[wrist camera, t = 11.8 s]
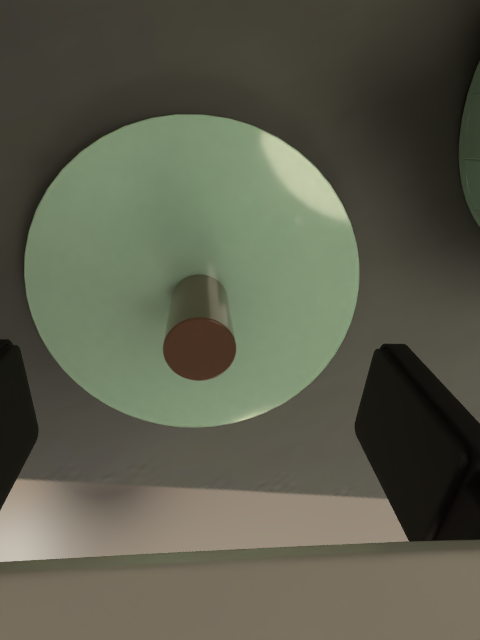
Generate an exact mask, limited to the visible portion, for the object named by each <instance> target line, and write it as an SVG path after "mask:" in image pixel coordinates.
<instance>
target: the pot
mask: <svg viewBox="0 0 480 640" xmlns="http://www.w3.org/2000/svg"><path fill="white" fill-rule="evenodd" d="M459 170H460V178H461V185H462V188H463V192H464V196H465V199H466V202H467V205H468V207H469V209H470V211H471V214H472V216H473V218H474V219H475V221H476V222H477V224H478V225H479V227H480V61H479V63H478V65H477V68H476V70H475V73H474V76H473V79H472V82H471V85H470V88H469V91H468V94H467V98H466V102H465V107H464V111H463V116H462V120H461V129H460V137H459Z"/></svg>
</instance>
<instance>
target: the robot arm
mask: <svg viewBox="0 0 480 640" xmlns="http://www.w3.org/2000/svg"><path fill="white" fill-rule="evenodd" d="M355 433H356V436H357V438H358V440H359V442H360V444H361V446H362V448H363V450H364V452H365V454H366V456H367V458H368V460H369V462H370V464H371V466H372V468H373V470H374V472H375V474H376V476H377V478H378V480H379V482H380V484H381V486H382V488H383V490H384V492H385V494H386V496H387V498H388V500H389V502H390V504H391V506H392V508H393V510H394V512H395V514H396V516H397V518H398V520H399V522H400V524H401V526H402V528H403V530H404V532H405V534H406V536H407V538H408V540H409V542H388V543H366V544H343V545H321V546H298V547H279V548H278V547H277V548H257V549H238V550H217V551H197V552H178V553H158V554H138V555H120V556H103V557H84V558H68V559H49V560H30V561H13V562H0V640H480V424H479V422H478V421H477V420H476V419H475V418H474V417H473V416H472V415H471V414H470V413H469V412H468V411H467V410H466V409H465V407H464V406H463V405H462V404H461V403H460V402H459V401H458V400H457V399H456V398H455V397H454V396H453V395H452V393H451V392H450V391H449V390H448V389H447V388H446V387H445V386H444V385H443V384H442V383H441V382H440V381H439V380H438V378H437V377H436V376H435V375H434V374H433V373H432V372H431V371H430V370H429V369H428V368H427V367H426V366H425V364H424V363H423V362H422V361H421V360H420V359H419V358H418V357H417V356H416V355H415V354H414V353H413V352H412V351H411V349H410V348H409V347H408V346H407V345H405V344H383V345H382V346H381V347H380V349H376V350H375V351H374V354H373V358H372V361H371V365H370V369H369V372H368V376H367V380H366V384H365V387H364V391H363V395H362V398H361V402H360V406H359V410H358V413H357V417H356V421H355ZM37 437H38V423H37V419H36V415H35V410H34V406H33V402H32V397H31V393H30V389H29V385H28V380H27V376H26V372H25V367H24V363H23V359H22V354H21V350H20V348H19V347H18V346H17V345H13V343H12V342H11V341H10V340H8V339H0V510H1V508H2V506H3V504H4V502H5V500H6V498H7V496H8V494H9V492H10V490H11V489H12V487H13V485H14V483H15V481H16V479H17V477H18V475H19V473H20V471H21V469H22V467H23V466H24V464H25V462H26V460H27V458H28V456H29V454H30V452H31V450H32V448H33V446H34V444H35V443H36V440H37Z"/></svg>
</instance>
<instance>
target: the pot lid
mask: <svg viewBox="0 0 480 640" xmlns="http://www.w3.org/2000/svg"><path fill="white" fill-rule="evenodd" d="M24 279H25V287H26V296H27V300H28V304H29V307H30V311H31V315H32V318H33V320H34V323H35V325H36V327H37V330H38V332H39V335H40V337H41V338H42V340H43V342H44V343H45V345H46V347H47V349H48V350H49V352H50V354H51V355H52V356H53V357H54V359H55V360H56V361H57V363H58V364H59V365H60V366H61V368H62V369H63V370H64V371H65V372H66V373H67V374H68V375H69V376H70V377H71V378H72V379H73V380H74V381H75V382H76V383H77V384H78V385H79V386H81V387H82V388H83V389H84V390H86V391H87V392H88V393H89V394H91V395H92V396H94V397H95V398H97V399H98V400H100V401H102V402H103V403H105V404H106V405H108V406H110V407H112V408H114V409H116V410H118V411H120V412H123V413H125V414H127V415H130V416H133V417H136V418H138V419H141V420H145V421H149V422H153V423H157V424H161V425H169V426H176V427H212V426H220V425H226V424H231V423H236V422H239V421H243V420H246V419H250V418H253V417H255V416H258V415H260V414H263V413H265V412H268V411H270V410H272V409H273V408H275V407H277V406H279V405H281V404H283V403H284V402H286V401H287V400H289V399H291V398H292V397H294V396H295V395H297V394H298V393H299V392H300V391H302V390H303V389H304V388H305V387H306V386H308V385H309V384H310V383H311V382H312V381H313V380H314V379H315V378H316V377H317V376H318V375H319V374H320V373H321V372H322V371H323V370H324V368H325V367H326V366H327V364H328V363H329V362H330V360H331V359H332V358H333V356H334V355H335V353H336V352H337V350H338V348H339V346H340V345H341V343H342V341H343V340H344V337H345V335H346V333H347V330H348V328H349V326H350V323H351V321H352V317H353V314H354V310H355V306H356V302H357V295H358V288H359V258H358V250H357V243H356V240H355V236H354V232H353V229H352V225H351V222H350V220H349V217H348V215H347V213H346V211H345V208H344V206H343V204H342V202H341V200H340V199H339V197H338V195H337V194H336V192H335V191H334V189H333V187H332V186H331V184H330V183H329V182H328V181H327V179H326V178H325V177H324V176H323V175H322V173H321V172H320V171H319V170H318V169H317V167H316V166H315V165H314V164H312V163H311V162H310V161H309V160H308V159H307V158H306V157H305V156H303V155H302V154H301V153H300V152H299V151H298V150H296V149H295V148H293V147H292V146H290V145H289V144H287V143H286V142H284V141H283V140H281V139H280V138H278V137H277V136H275V135H273V134H270V133H268V132H266V131H264V130H262V129H260V128H258V127H256V126H253V125H250V124H247V123H243V122H240V121H237V120H234V119H230V118H225V117H218V116H212V115H205V114H174V115H167V116H161V117H154V118H149V119H145V120H142V121H139V122H136V123H132V124H129V125H126V126H123V127H121V128H119V129H117V130H115V131H113V132H111V133H109V134H107V135H105V136H103V137H101V138H99V139H98V140H97V141H95V142H94V143H92V144H91V145H89V146H88V147H86V148H85V149H84V150H82V151H81V152H80V153H79V154H77V155H76V156H75V157H74V158H73V159H72V160H71V161H70V162H69V163H68V164H67V165H66V166H65V167H64V168H63V169H62V170H61V171H60V173H59V174H58V175H57V177H56V178H55V179H54V180H53V182H52V183H51V184H50V186H49V187H48V188H47V190H46V192H45V194H44V196H43V198H42V200H41V201H40V203H39V205H38V207H37V209H36V212H35V214H34V217H33V220H32V223H31V226H30V229H29V232H28V238H27V243H26V249H25V259H24Z"/></svg>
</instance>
